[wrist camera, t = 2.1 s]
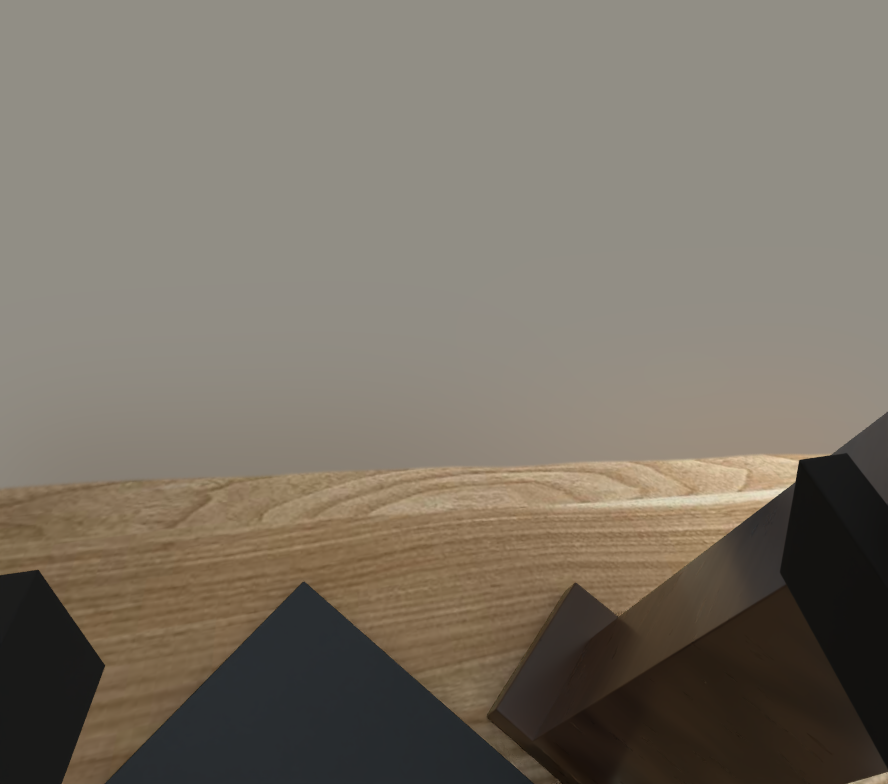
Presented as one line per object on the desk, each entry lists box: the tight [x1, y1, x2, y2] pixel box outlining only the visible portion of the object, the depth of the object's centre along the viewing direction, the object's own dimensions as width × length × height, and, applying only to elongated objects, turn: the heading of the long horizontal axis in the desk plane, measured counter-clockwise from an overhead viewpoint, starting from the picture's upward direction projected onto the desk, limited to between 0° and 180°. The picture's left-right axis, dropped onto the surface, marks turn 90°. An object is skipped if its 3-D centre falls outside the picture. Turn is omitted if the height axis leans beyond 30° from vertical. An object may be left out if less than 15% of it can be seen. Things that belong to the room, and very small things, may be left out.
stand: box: [487, 412, 888, 784], centre depth 21 cm, size 12×15×28 cm
